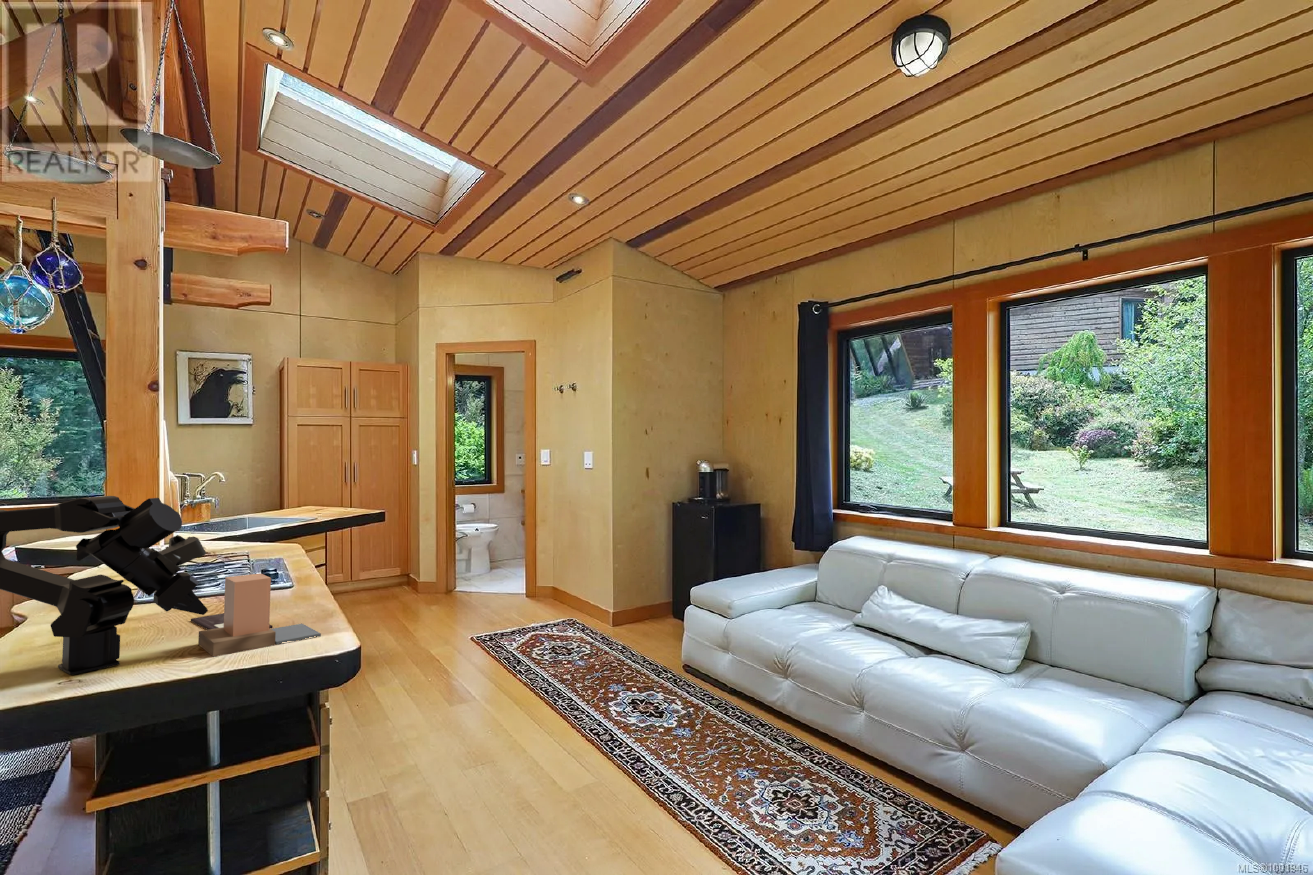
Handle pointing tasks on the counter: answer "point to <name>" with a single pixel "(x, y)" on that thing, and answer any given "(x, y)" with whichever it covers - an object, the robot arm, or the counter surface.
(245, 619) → the block
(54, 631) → the robot arm
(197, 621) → the chocolate bar
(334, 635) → the counter surface
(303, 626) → the mat
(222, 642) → the board
